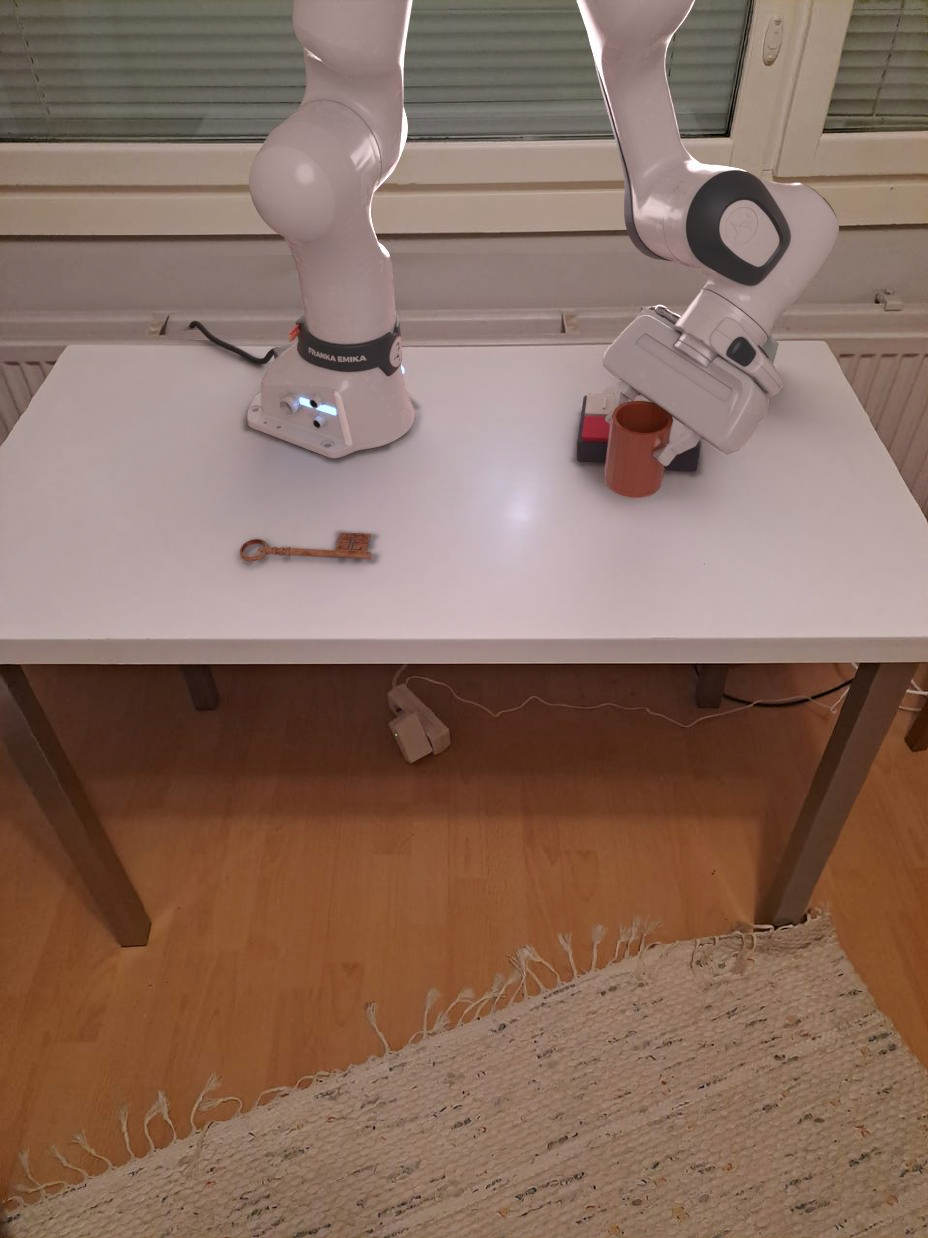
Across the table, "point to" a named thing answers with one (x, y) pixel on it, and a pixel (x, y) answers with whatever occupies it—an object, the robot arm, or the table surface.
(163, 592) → the table surface
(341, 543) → the key
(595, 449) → the calculator
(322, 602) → the table surface
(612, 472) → the cup
